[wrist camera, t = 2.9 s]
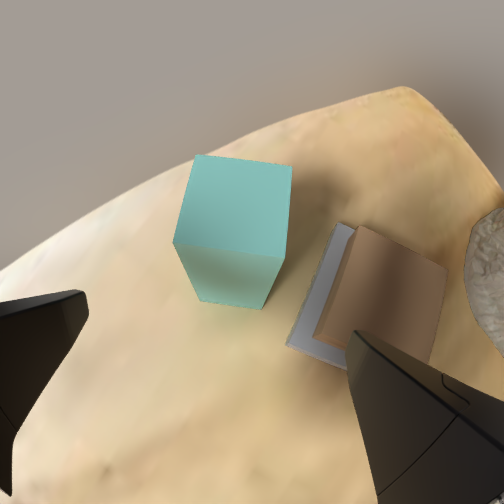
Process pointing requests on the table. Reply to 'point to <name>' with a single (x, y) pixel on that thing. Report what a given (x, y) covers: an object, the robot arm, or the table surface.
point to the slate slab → (320, 303)
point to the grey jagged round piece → (487, 275)
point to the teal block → (234, 228)
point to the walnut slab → (383, 296)
